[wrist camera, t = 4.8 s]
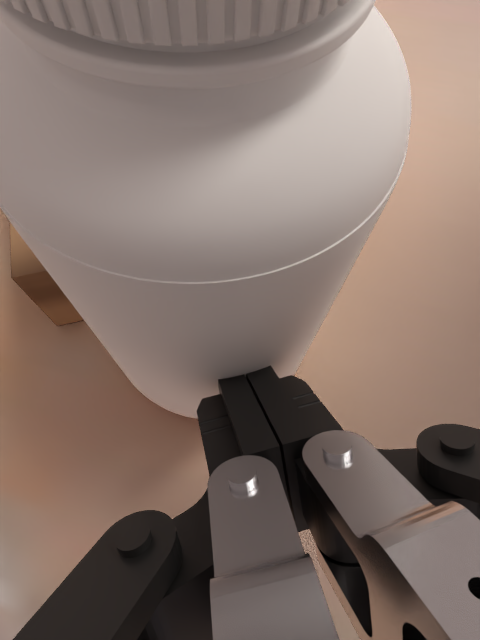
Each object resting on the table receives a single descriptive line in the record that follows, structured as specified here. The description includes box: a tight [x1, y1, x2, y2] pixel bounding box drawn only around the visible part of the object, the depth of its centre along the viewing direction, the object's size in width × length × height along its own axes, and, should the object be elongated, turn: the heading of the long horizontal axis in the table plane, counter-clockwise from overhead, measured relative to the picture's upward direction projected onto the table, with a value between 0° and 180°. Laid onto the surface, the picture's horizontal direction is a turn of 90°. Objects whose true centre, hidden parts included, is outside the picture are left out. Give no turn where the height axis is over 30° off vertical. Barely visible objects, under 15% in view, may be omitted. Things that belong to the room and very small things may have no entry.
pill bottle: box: [0, 0, 411, 419], centre depth 11 cm, size 8×8×15 cm
